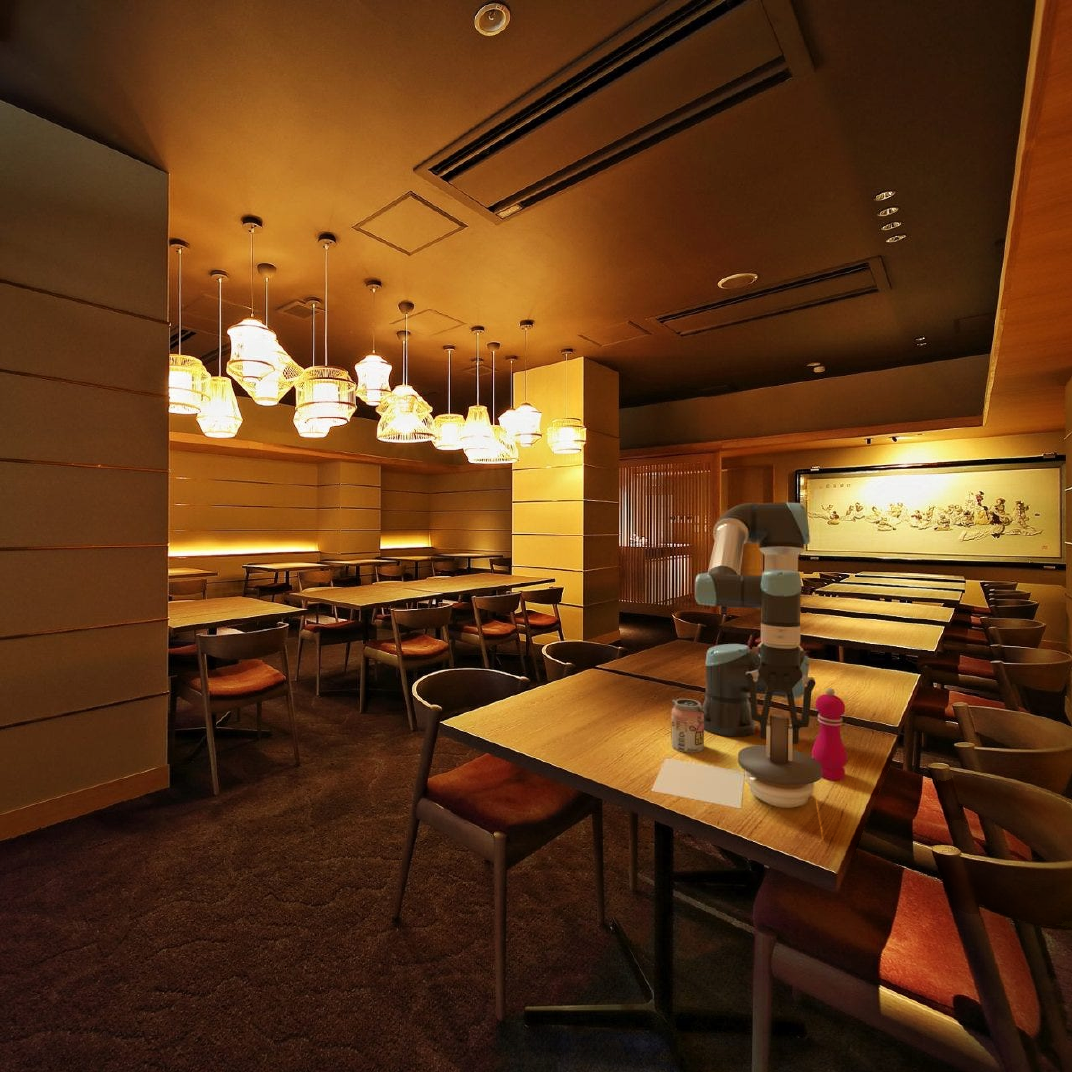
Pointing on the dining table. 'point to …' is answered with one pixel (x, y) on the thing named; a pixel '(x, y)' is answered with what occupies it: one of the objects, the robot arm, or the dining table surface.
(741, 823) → the dining table surface
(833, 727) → the pepper mill
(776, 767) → the lid
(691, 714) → the beverage can
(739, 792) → the mat
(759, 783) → the bowl
